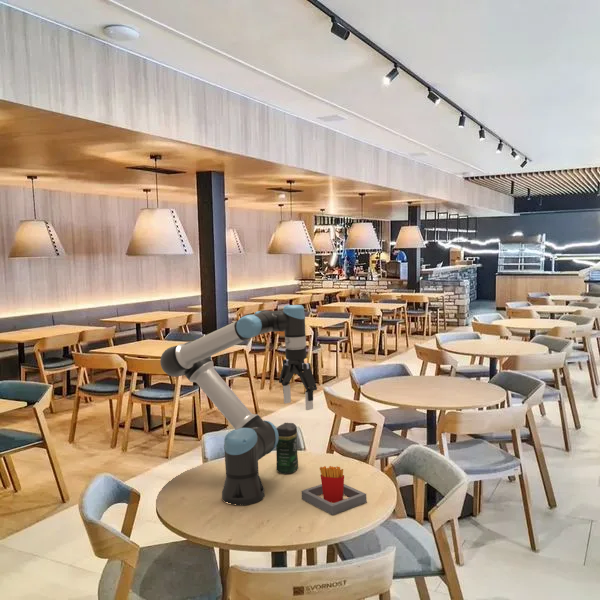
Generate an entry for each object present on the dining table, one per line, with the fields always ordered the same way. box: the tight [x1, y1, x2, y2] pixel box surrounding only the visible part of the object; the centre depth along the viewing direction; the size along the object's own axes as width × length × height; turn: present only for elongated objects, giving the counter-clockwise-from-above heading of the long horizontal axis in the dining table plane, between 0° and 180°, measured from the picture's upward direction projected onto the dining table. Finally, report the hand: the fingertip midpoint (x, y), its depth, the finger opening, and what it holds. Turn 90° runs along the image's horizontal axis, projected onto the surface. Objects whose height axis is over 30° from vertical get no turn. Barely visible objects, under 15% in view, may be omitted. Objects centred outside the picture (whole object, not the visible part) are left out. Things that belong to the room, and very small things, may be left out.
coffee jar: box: [275, 422, 299, 475], centre depth 231 cm, size 10×8×19 cm
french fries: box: [319, 465, 345, 503], centre depth 200 cm, size 8×4×12 cm, turn 72°
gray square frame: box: [301, 483, 367, 516], centre depth 200 cm, size 17×15×3 cm
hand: (298, 406), depth 210 cm, fingers open, 13 cm apart
